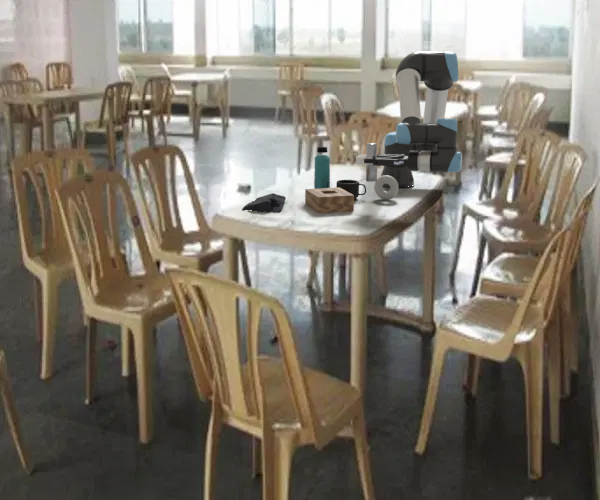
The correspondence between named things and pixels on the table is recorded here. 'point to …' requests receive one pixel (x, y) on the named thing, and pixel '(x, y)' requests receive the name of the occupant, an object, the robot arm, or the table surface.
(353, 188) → the mug
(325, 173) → the beverage bottle
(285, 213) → the table surface
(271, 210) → the dark slate chunk
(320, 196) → the block
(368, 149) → the pin
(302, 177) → the table surface
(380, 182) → the donut
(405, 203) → the table surface
